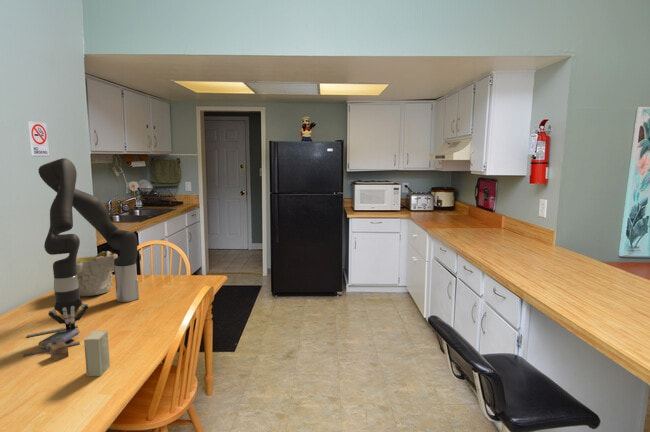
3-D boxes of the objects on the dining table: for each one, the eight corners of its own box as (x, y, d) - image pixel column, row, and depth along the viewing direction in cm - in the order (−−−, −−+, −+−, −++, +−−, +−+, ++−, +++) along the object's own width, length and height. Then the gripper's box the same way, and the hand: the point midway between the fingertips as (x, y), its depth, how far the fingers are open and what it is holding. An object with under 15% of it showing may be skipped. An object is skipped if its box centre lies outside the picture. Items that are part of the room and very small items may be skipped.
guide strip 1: (77, 326, 153) (77, 325, 153) (77, 327, 152) (77, 326, 152) (27, 336, 144) (26, 335, 144) (26, 337, 143) (26, 336, 143)
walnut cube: (64, 352, 132) (63, 341, 131) (68, 356, 129) (67, 345, 129) (50, 357, 129) (49, 345, 128) (54, 361, 126) (53, 349, 126)
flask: (79, 327, 142) (59, 340, 132) (81, 335, 143) (61, 348, 132) (54, 331, 143) (33, 344, 132) (56, 339, 143) (35, 352, 132)
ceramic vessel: (42, 278, 188) (75, 235, 197) (88, 298, 204) (116, 257, 213) (57, 287, 173) (92, 240, 183) (105, 308, 189) (135, 263, 199)
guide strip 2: (79, 342, 139) (79, 341, 139) (79, 344, 138) (79, 342, 138) (23, 354, 130) (23, 353, 130) (23, 356, 129) (23, 355, 129)
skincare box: (96, 366, 123) (93, 330, 121) (110, 366, 123) (108, 330, 122) (85, 377, 117) (82, 339, 115) (101, 376, 117) (98, 338, 116)
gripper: (87, 282, 149) (90, 324, 151) (44, 288, 141) (49, 332, 144) (88, 287, 142) (92, 331, 145) (44, 294, 135) (49, 340, 137)
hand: (70, 332), depth 144 cm, fingers closed
